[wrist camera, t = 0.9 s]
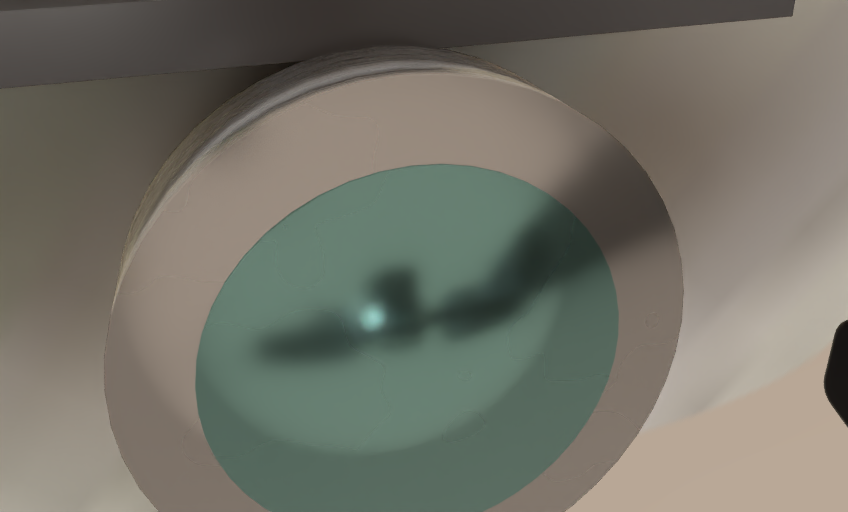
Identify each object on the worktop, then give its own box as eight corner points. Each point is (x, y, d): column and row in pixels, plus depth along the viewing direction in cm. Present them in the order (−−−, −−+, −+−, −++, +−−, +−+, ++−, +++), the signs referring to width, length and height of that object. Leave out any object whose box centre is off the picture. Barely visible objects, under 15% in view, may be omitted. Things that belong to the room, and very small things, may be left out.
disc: (641, 21, 10) (720, 47, 8) (604, 450, 13) (656, 524, 11) (55, 74, 8) (23, 115, 7) (172, 546, 11) (169, 644, 10)
